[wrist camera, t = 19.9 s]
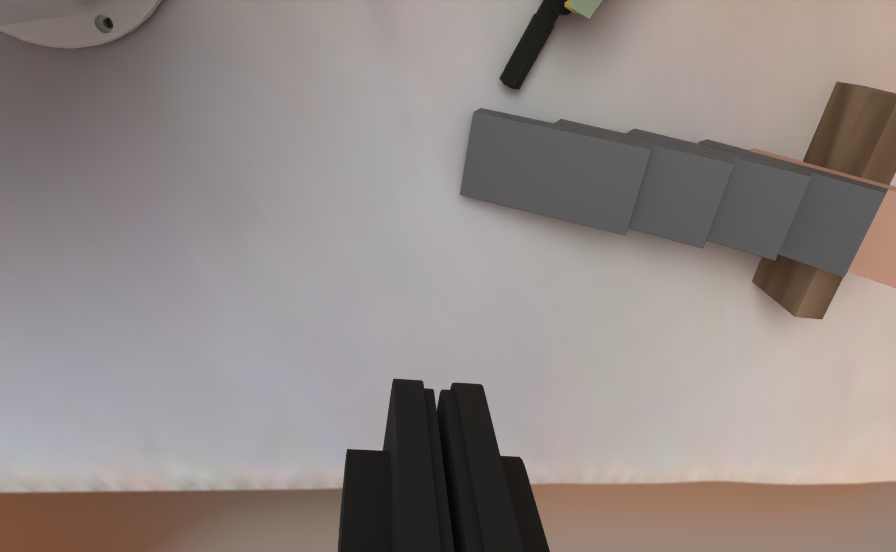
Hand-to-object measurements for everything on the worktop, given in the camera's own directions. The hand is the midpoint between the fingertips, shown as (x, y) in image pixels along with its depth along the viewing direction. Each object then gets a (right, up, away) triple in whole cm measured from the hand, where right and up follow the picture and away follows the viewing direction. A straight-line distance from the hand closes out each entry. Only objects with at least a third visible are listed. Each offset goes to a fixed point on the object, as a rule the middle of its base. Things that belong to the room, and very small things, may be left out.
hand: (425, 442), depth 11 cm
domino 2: (+7, +10, +25) cm, 28 cm away
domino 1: (+2, +11, +25) cm, 27 cm away
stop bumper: (+24, +9, +29) cm, 39 cm away
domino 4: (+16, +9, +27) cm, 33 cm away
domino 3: (+11, +10, +26) cm, 30 cm away
